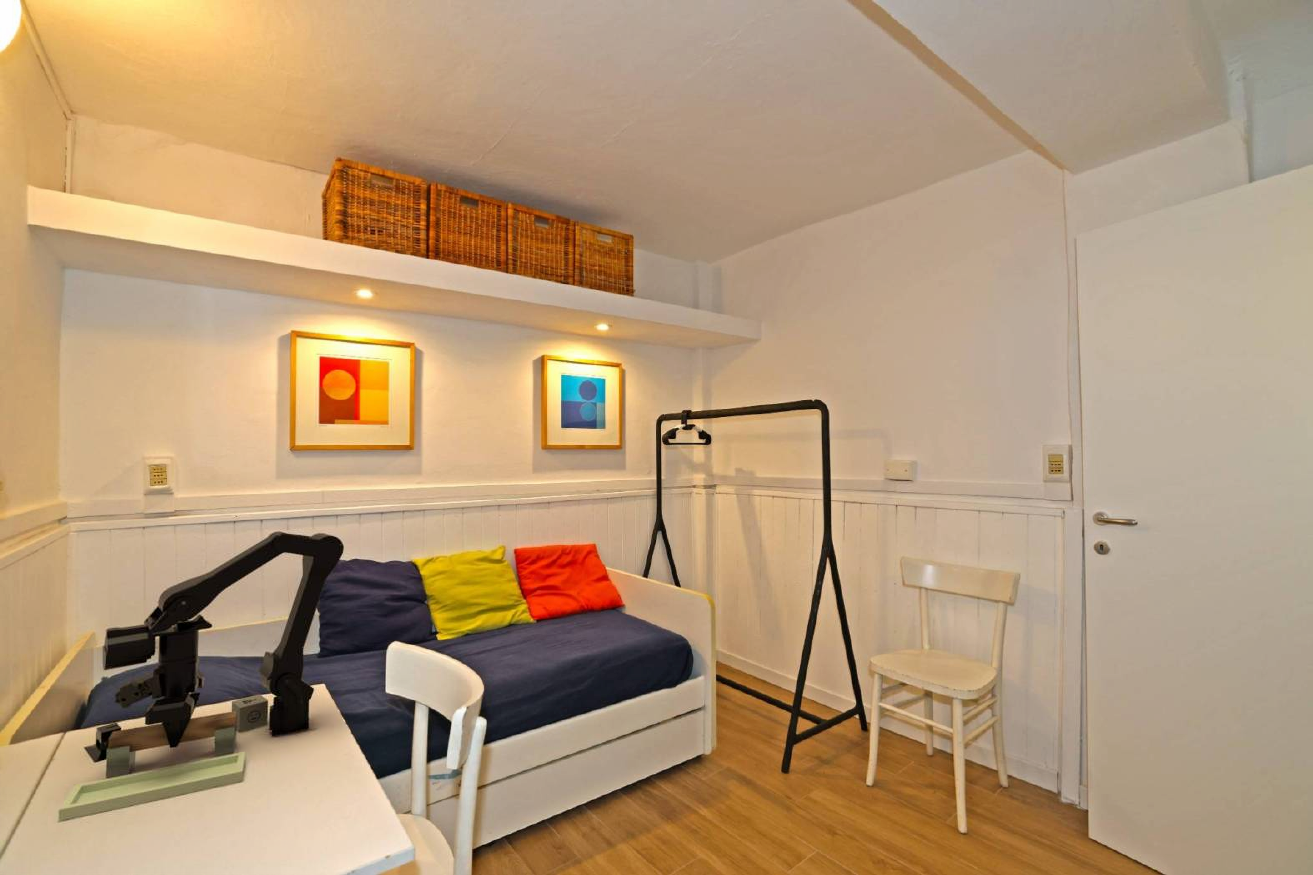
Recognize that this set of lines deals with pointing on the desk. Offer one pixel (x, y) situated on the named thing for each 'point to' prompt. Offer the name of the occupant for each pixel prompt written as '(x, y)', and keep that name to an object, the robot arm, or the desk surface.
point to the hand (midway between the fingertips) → (175, 743)
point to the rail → (157, 735)
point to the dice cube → (251, 712)
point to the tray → (152, 785)
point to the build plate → (101, 742)
